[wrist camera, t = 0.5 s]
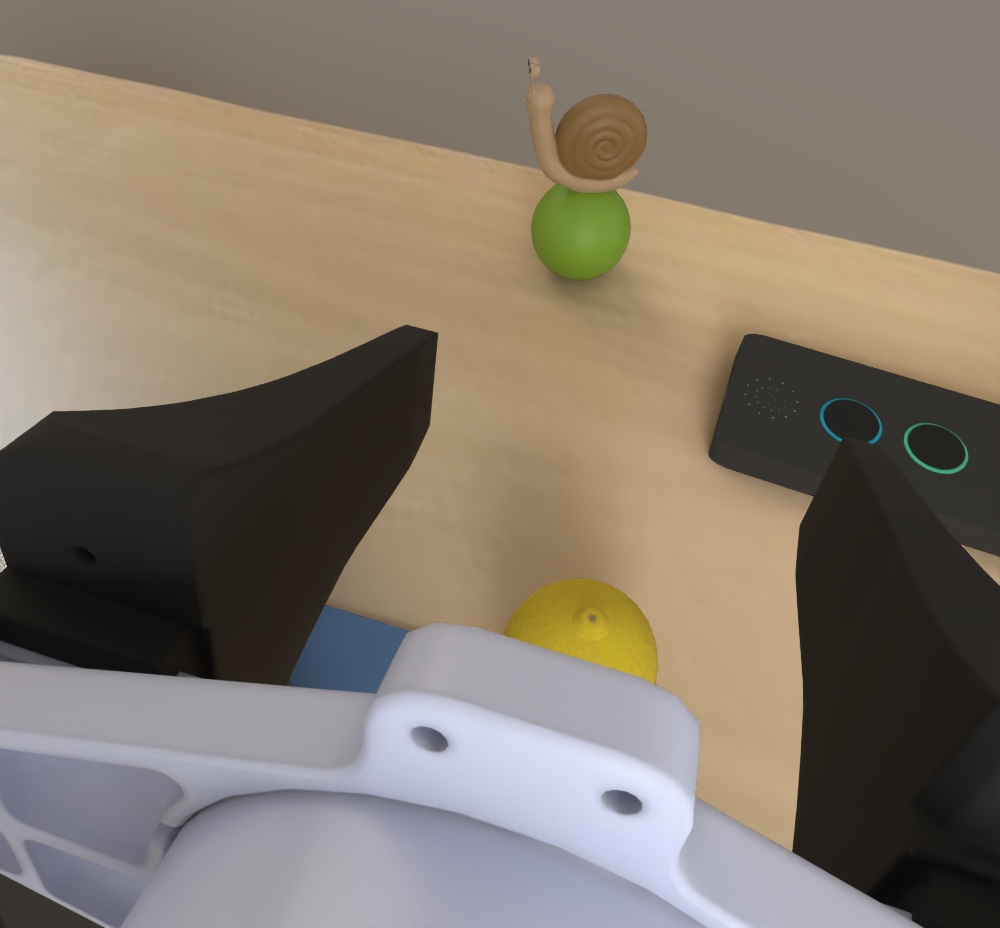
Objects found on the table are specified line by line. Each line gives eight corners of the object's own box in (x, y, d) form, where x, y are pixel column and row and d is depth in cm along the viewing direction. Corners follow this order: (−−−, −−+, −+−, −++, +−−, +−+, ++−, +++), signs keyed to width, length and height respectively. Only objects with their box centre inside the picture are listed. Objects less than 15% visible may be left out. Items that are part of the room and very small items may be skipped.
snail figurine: (506, 237, 48) (522, 31, 38) (613, 237, 48) (655, 33, 38) (514, 300, 44) (533, 92, 35) (627, 299, 45) (678, 94, 35)
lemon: (468, 670, 32) (474, 574, 25) (590, 619, 33) (625, 517, 27) (529, 805, 29) (553, 736, 22) (659, 743, 30) (717, 662, 24)
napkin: (221, 1173, 23) (218, 1175, 22) (-255, 979, 25) (-261, 979, 24) (424, 638, 32) (424, 635, 32) (73, 530, 34) (70, 526, 34)
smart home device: (746, 325, 42) (1156, 445, 38) (736, 349, 43) (1131, 467, 40) (714, 441, 37) (1178, 589, 34) (705, 463, 38) (1148, 607, 35)
